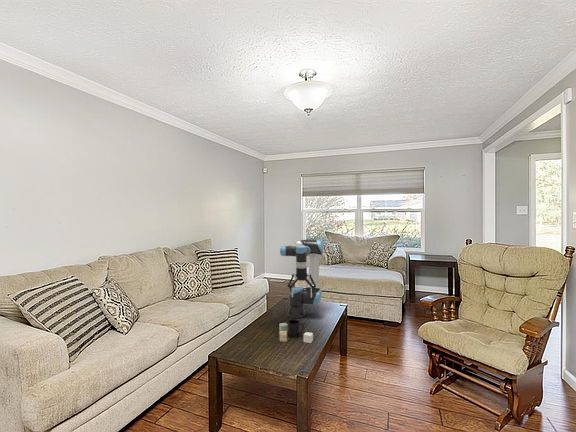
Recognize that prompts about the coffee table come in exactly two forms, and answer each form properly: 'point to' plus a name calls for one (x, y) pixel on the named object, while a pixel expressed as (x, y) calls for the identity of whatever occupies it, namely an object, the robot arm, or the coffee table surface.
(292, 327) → the mug
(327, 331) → the coffee table surface
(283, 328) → the sage cube
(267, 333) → the coffee table surface
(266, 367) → the coffee table surface
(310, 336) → the cream cube
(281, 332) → the maple cube
